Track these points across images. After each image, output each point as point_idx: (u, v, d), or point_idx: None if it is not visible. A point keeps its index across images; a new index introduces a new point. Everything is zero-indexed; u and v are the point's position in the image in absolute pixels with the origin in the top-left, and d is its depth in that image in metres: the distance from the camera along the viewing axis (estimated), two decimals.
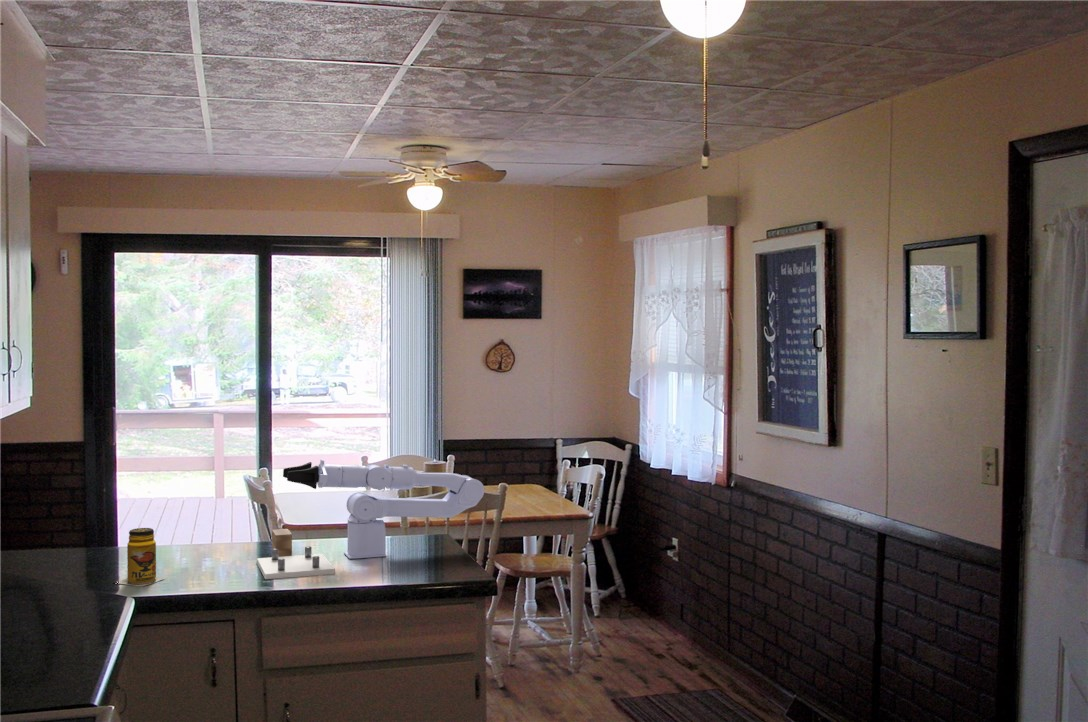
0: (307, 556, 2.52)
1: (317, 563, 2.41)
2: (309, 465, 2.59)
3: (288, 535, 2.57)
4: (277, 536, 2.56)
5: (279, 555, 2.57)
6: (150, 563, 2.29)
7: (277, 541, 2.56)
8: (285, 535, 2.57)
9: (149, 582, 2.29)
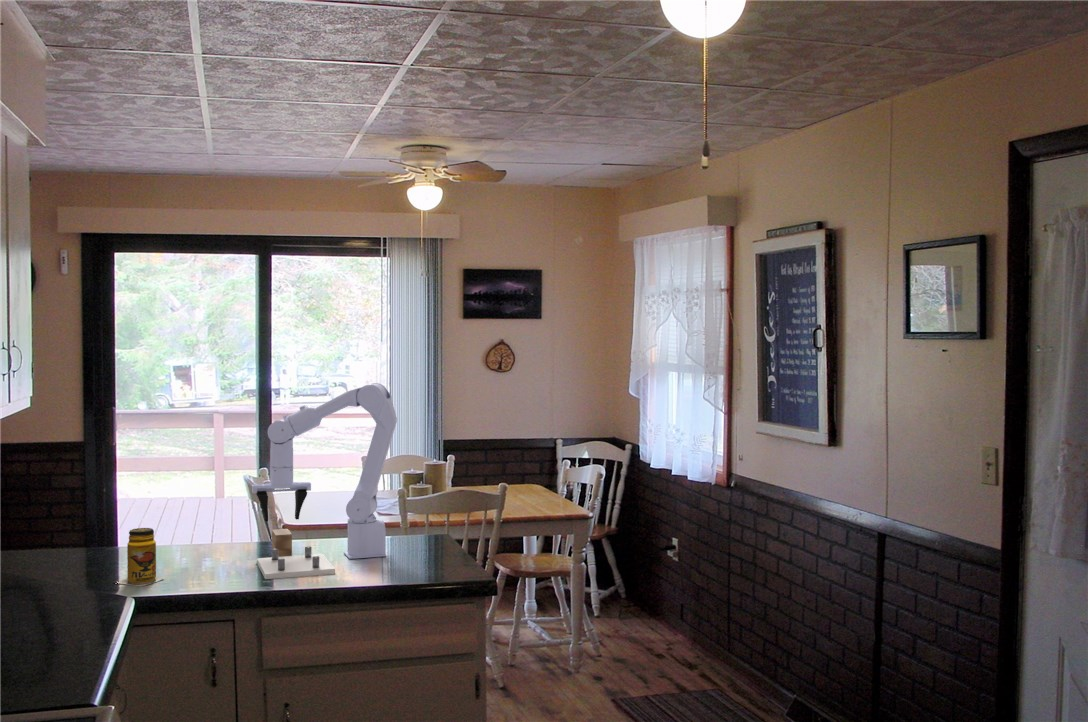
0: (307, 556, 2.52)
1: (317, 563, 2.41)
2: (295, 493, 2.64)
3: (288, 535, 2.57)
4: (277, 536, 2.56)
5: (279, 555, 2.57)
6: (150, 563, 2.29)
7: (277, 541, 2.56)
8: (285, 535, 2.57)
9: (149, 582, 2.29)
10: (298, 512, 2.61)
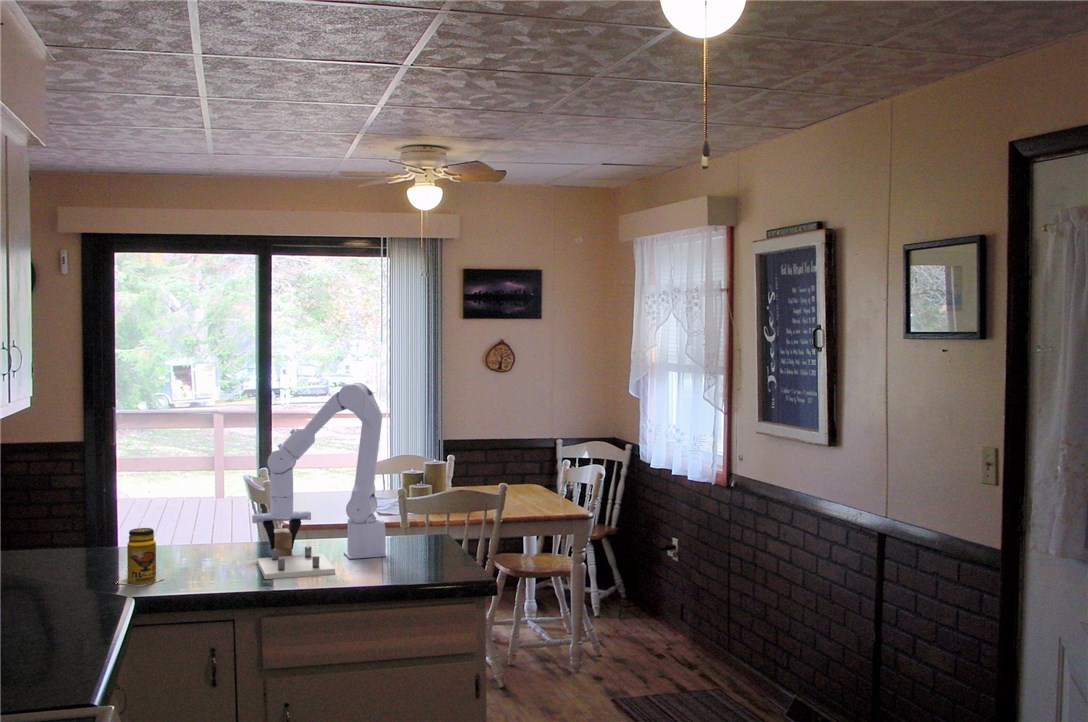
0: (307, 556, 2.52)
1: (317, 563, 2.41)
2: (289, 522, 2.63)
3: (288, 535, 2.57)
4: (277, 536, 2.56)
5: (279, 555, 2.57)
6: (150, 563, 2.29)
7: (277, 541, 2.56)
8: (285, 535, 2.57)
9: (149, 582, 2.29)
10: (292, 542, 2.60)
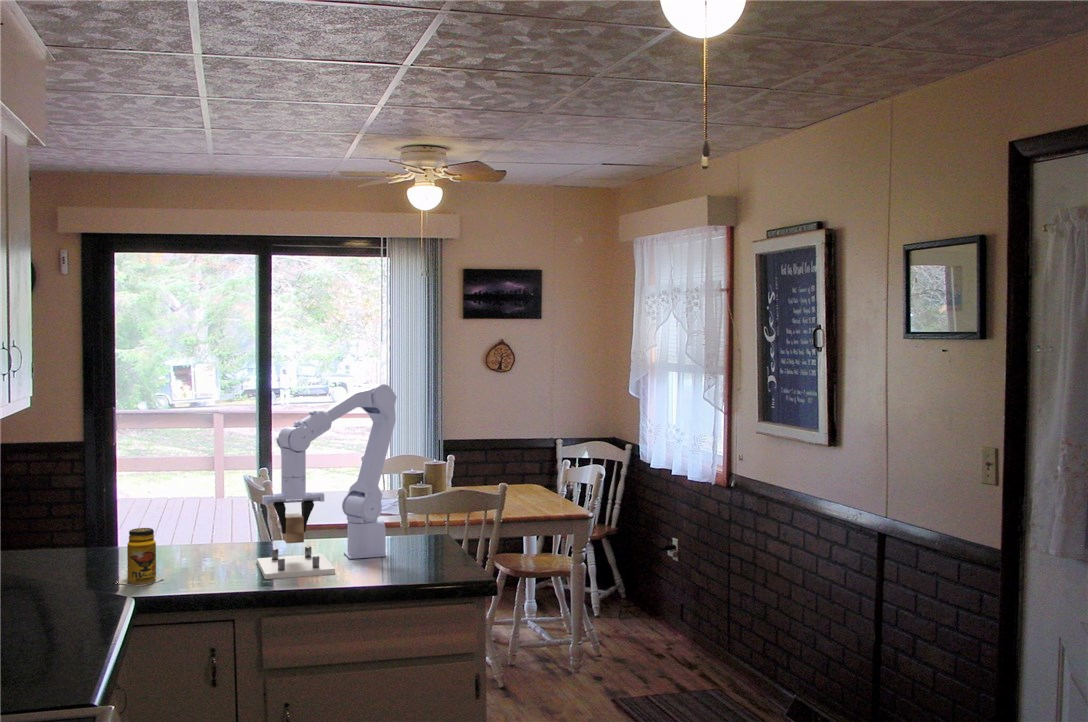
0: (307, 556, 2.52)
1: (317, 563, 2.41)
2: (301, 504, 2.49)
3: (300, 518, 2.44)
4: (288, 519, 2.43)
5: (290, 539, 2.43)
6: (150, 563, 2.29)
7: (288, 524, 2.43)
8: (296, 518, 2.44)
9: (149, 582, 2.29)
10: (304, 525, 2.46)
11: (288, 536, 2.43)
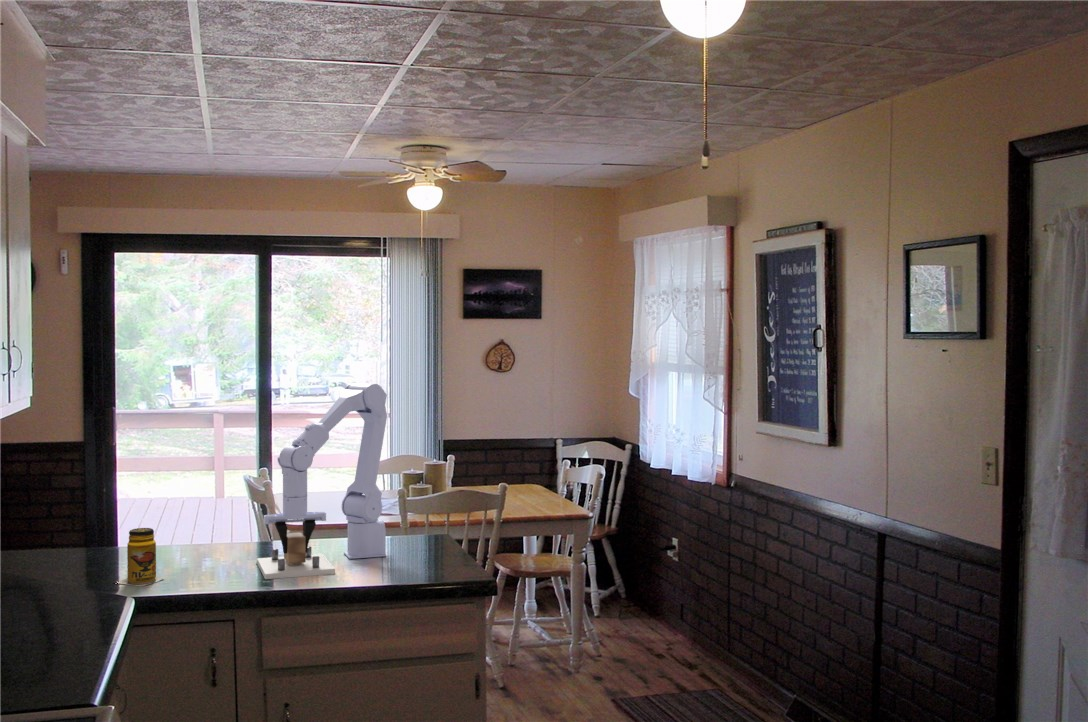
0: (307, 556, 2.52)
1: (317, 563, 2.41)
2: (303, 523, 2.48)
3: (301, 538, 2.43)
4: (290, 539, 2.42)
5: (292, 559, 2.42)
6: (150, 563, 2.29)
7: (290, 544, 2.42)
8: (298, 538, 2.42)
9: (149, 582, 2.29)
10: (306, 544, 2.45)
11: (290, 556, 2.42)
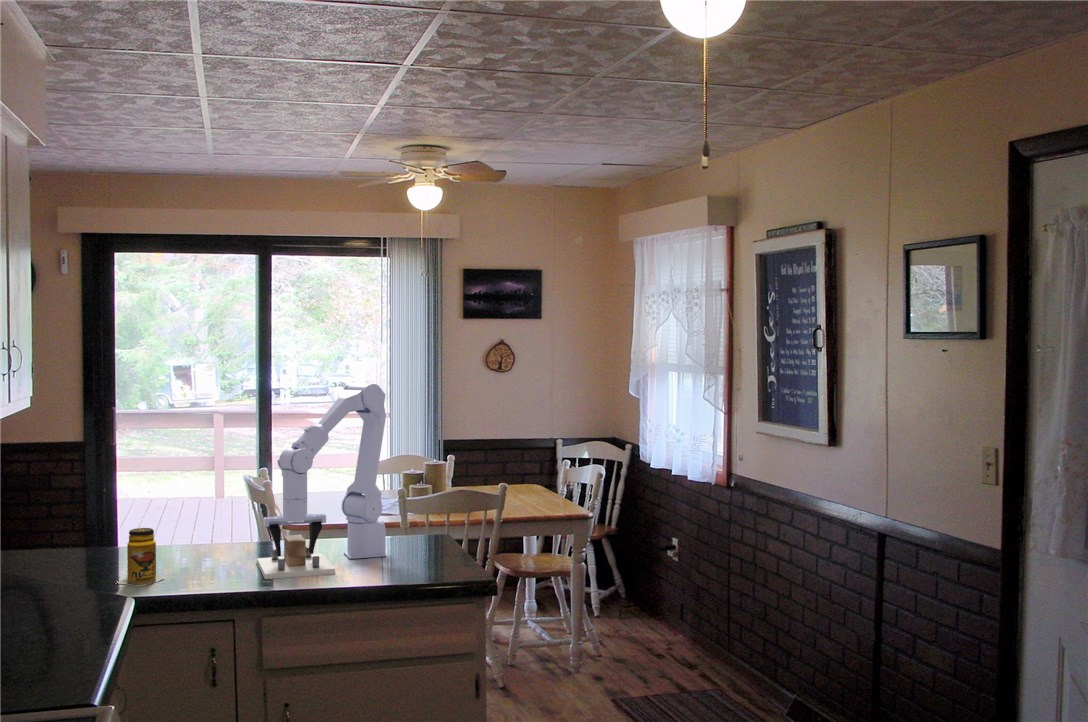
0: (307, 556, 2.52)
1: (317, 563, 2.41)
2: (309, 525, 2.48)
3: (302, 542, 2.42)
4: (290, 543, 2.41)
5: (292, 563, 2.42)
6: (150, 563, 2.29)
7: (290, 548, 2.42)
8: (298, 542, 2.42)
9: (149, 582, 2.29)
10: (312, 546, 2.45)
11: (290, 560, 2.42)
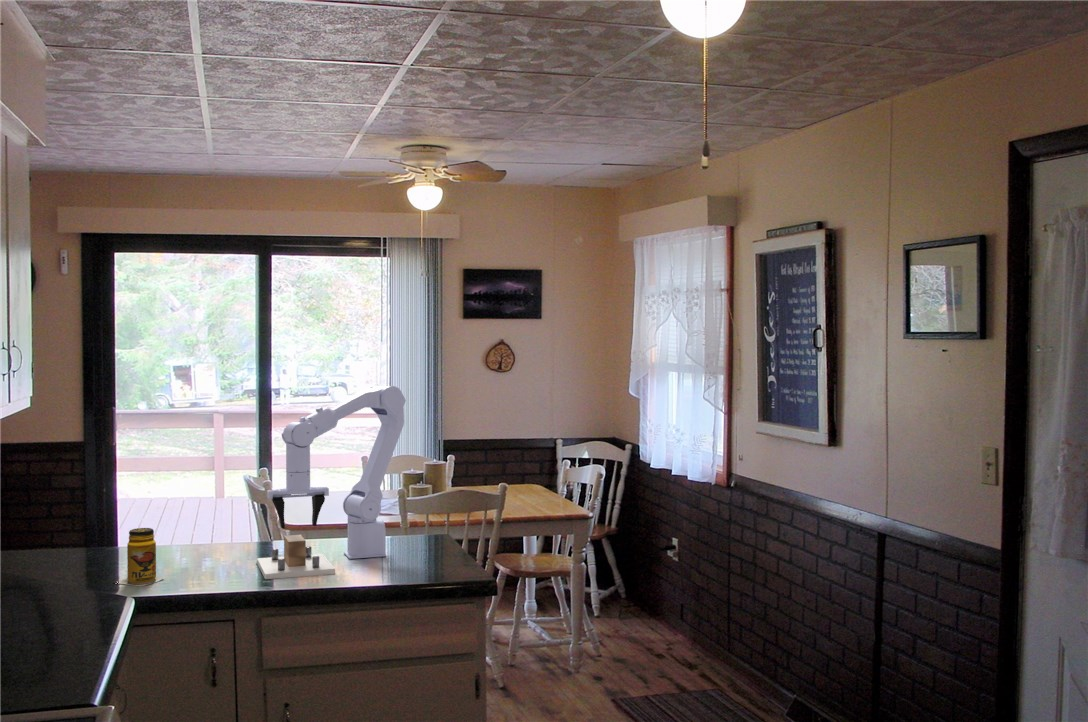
0: (307, 556, 2.52)
1: (317, 563, 2.41)
2: (312, 498, 2.53)
3: (302, 542, 2.42)
4: (290, 543, 2.41)
5: (292, 563, 2.42)
6: (150, 563, 2.29)
7: (290, 548, 2.42)
8: (298, 542, 2.42)
9: (149, 582, 2.29)
10: (316, 518, 2.50)
11: (290, 560, 2.42)
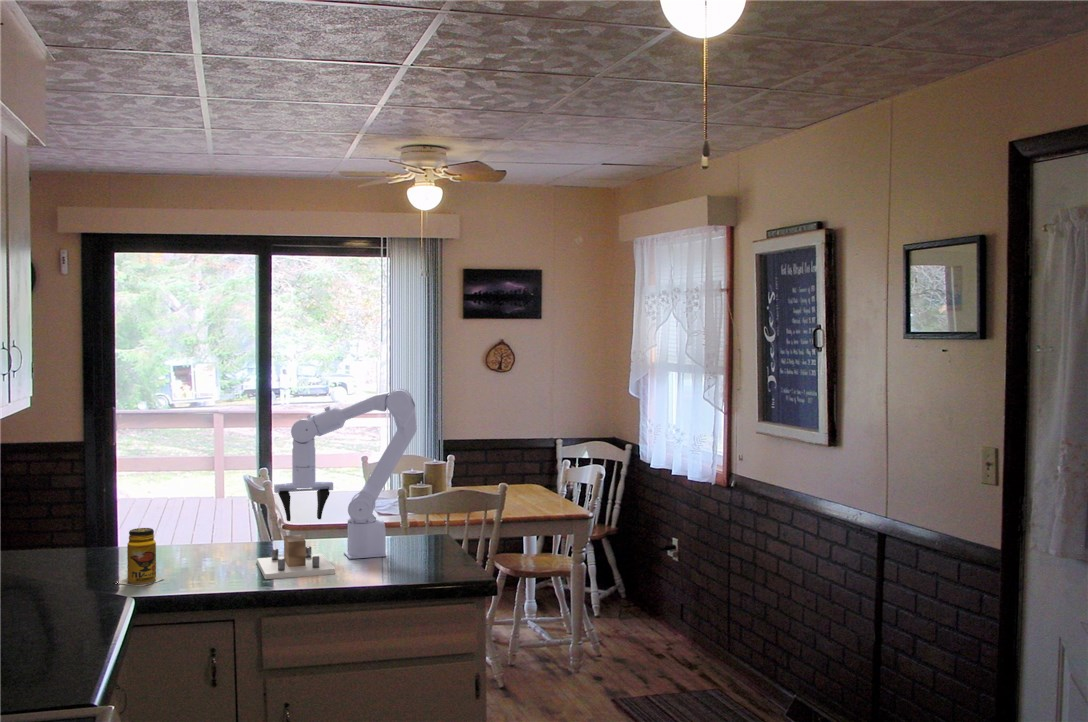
0: (307, 556, 2.52)
1: (317, 563, 2.41)
2: (317, 492, 2.62)
3: (302, 542, 2.42)
4: (290, 543, 2.41)
5: (292, 563, 2.42)
6: (150, 563, 2.29)
7: (290, 548, 2.42)
8: (298, 542, 2.42)
9: (149, 582, 2.29)
10: (320, 512, 2.59)
11: (290, 560, 2.42)
